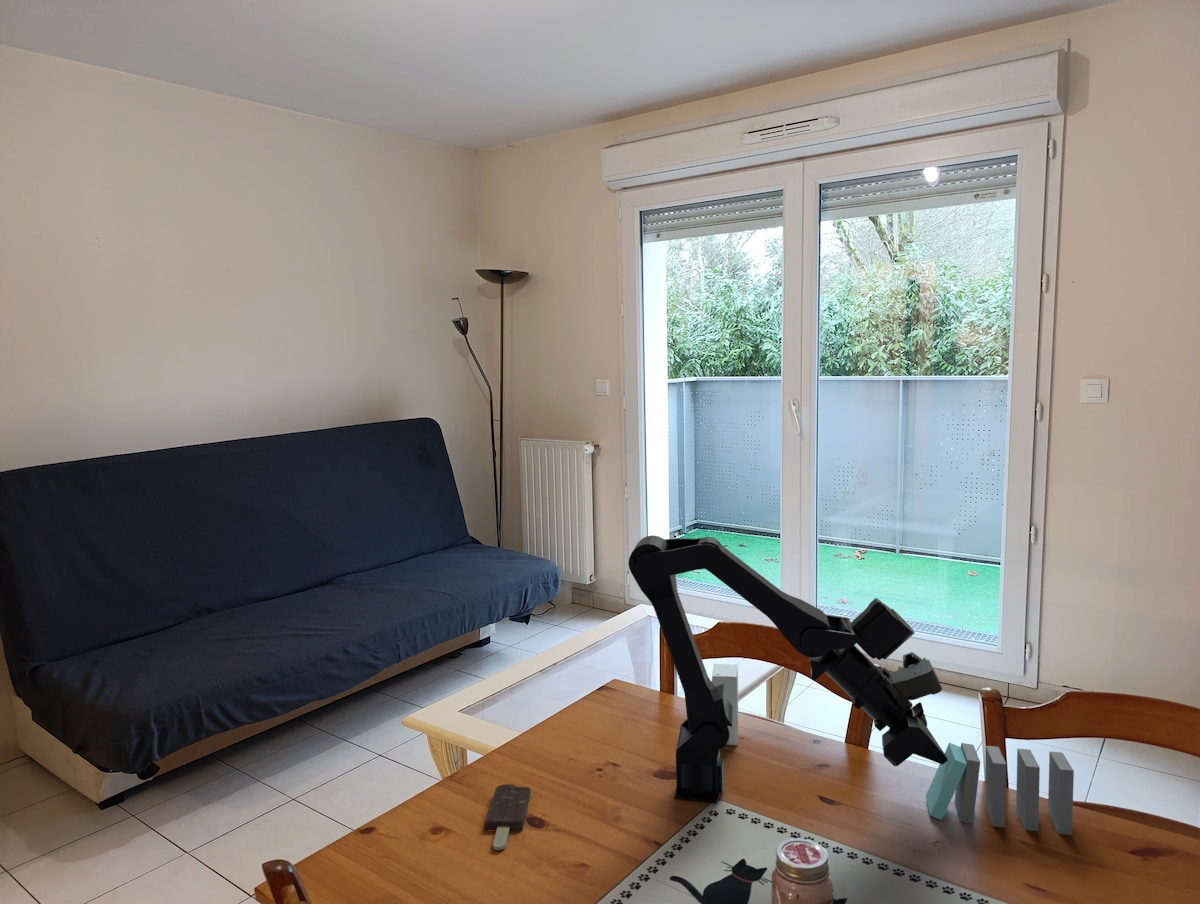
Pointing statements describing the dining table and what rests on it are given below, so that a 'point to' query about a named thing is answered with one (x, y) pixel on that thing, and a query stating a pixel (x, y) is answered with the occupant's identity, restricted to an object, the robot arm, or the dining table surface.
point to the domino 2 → (995, 786)
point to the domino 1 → (968, 785)
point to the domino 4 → (1060, 793)
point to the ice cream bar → (507, 812)
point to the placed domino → (945, 781)
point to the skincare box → (729, 693)
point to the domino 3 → (1027, 789)
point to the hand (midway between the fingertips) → (944, 761)
